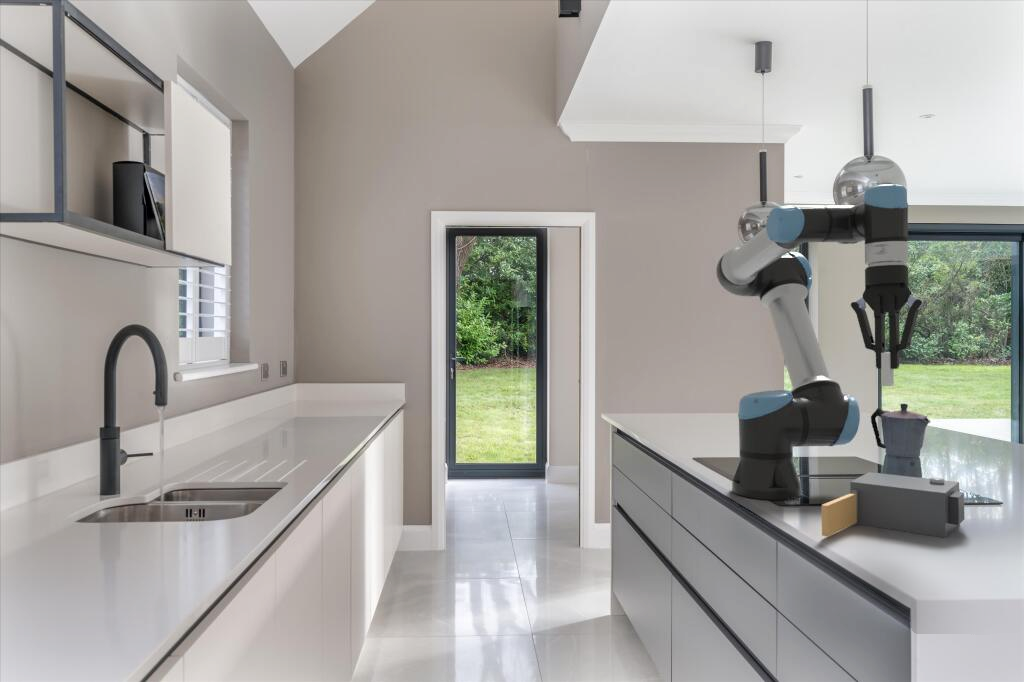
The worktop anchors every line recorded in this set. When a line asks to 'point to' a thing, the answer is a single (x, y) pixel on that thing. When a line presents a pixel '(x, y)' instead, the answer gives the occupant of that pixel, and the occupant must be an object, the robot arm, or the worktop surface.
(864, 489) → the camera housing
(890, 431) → the moka pot
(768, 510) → the worktop surface
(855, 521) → the side door
